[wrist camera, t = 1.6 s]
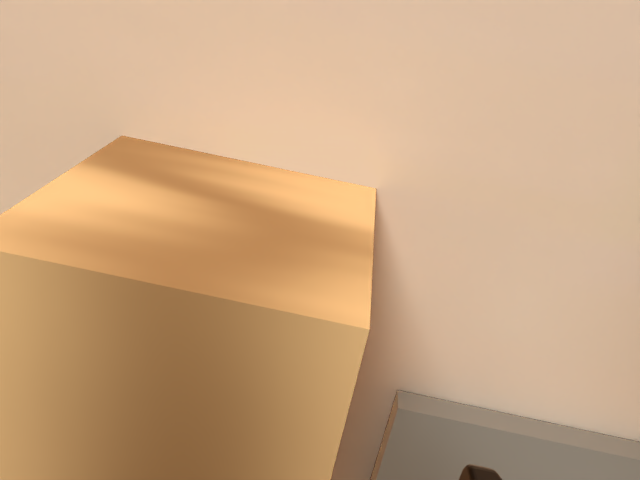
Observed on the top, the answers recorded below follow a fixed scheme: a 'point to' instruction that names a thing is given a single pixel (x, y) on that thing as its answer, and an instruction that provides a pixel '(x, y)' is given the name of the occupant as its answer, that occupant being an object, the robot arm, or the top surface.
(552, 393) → the top surface
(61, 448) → the oak cube
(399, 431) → the slate coaster
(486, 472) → the robot arm
